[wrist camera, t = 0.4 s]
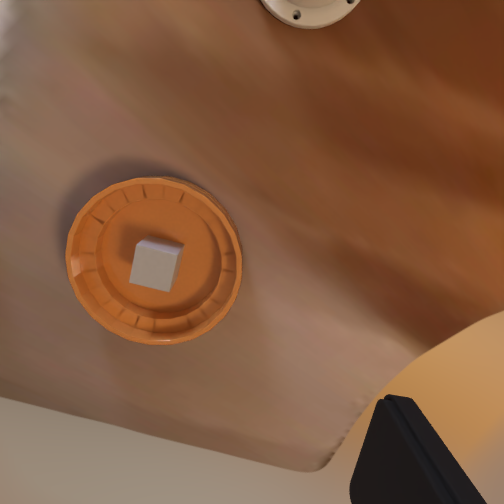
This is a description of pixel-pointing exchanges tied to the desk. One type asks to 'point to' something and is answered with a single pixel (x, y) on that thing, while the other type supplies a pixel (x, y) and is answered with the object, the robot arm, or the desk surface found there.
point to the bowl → (123, 249)
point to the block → (156, 263)
